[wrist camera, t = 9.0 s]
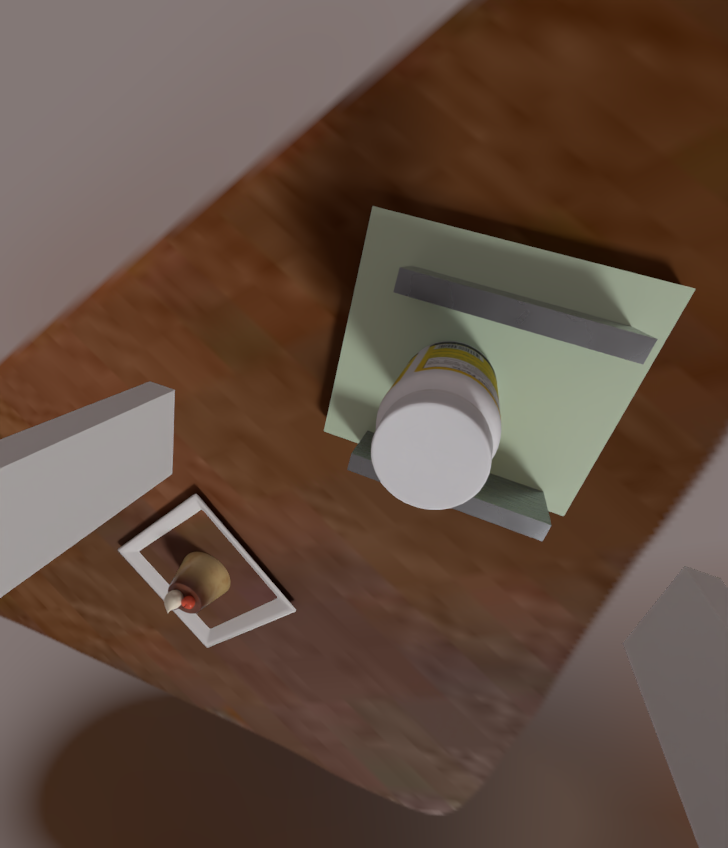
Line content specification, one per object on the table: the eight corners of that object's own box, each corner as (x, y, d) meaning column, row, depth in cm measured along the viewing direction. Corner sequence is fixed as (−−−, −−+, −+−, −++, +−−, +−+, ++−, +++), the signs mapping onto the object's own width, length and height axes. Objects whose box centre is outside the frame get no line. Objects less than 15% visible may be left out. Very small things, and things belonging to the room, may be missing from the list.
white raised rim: (302, 600, 32) (274, 652, 28) (214, 637, 38) (179, 686, 33) (205, 485, 30) (159, 522, 26) (127, 541, 36) (77, 580, 32)
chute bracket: (363, 445, 23) (347, 469, 21) (412, 265, 19) (399, 267, 16) (535, 506, 22) (542, 541, 19) (631, 326, 17) (657, 339, 15)
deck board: (330, 423, 25) (323, 431, 24) (378, 208, 20) (372, 205, 18) (559, 504, 23) (563, 516, 22) (683, 286, 17) (695, 288, 16)
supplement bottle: (428, 441, 22) (397, 535, 15) (387, 365, 21) (331, 426, 14) (513, 406, 20) (529, 496, 13) (473, 321, 19) (463, 363, 12)
